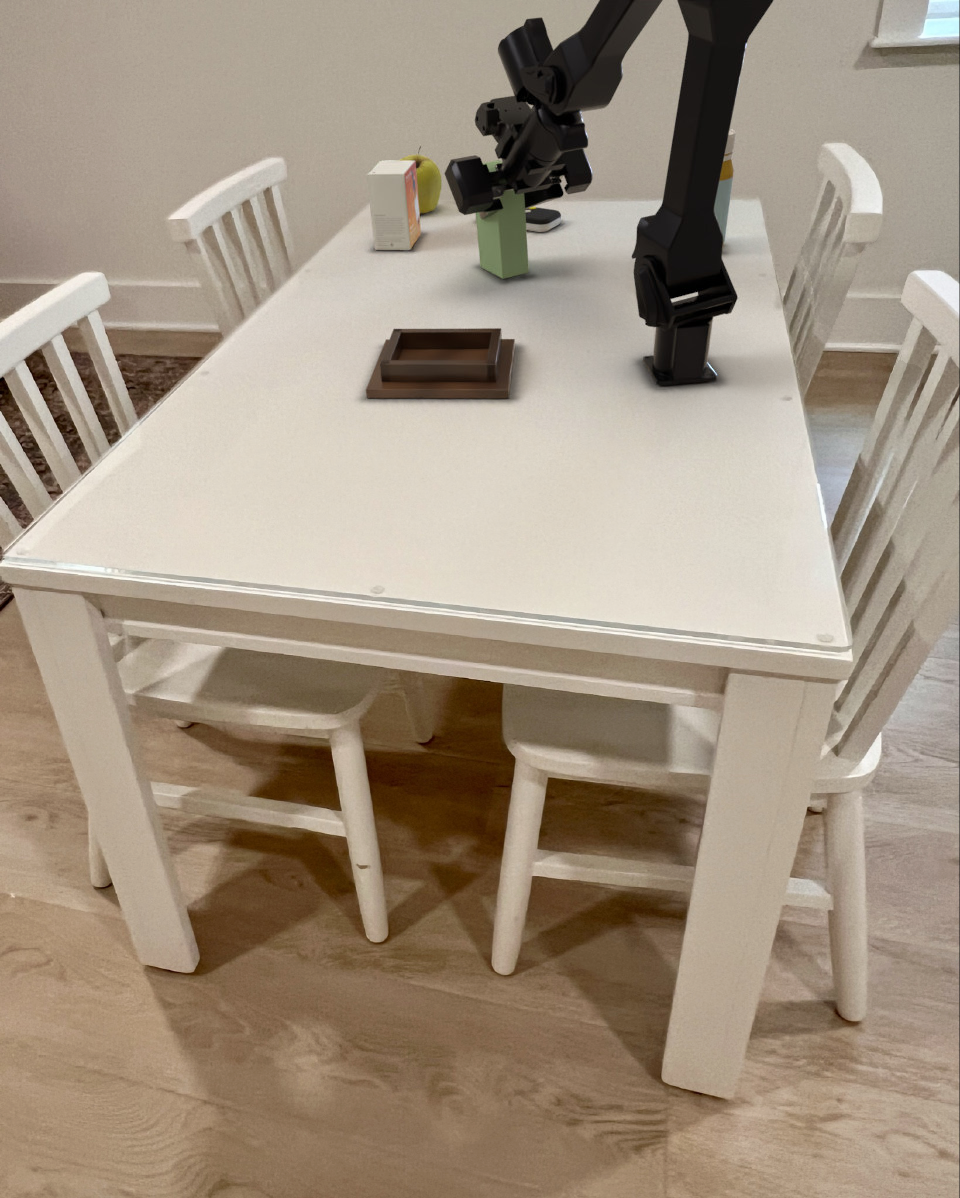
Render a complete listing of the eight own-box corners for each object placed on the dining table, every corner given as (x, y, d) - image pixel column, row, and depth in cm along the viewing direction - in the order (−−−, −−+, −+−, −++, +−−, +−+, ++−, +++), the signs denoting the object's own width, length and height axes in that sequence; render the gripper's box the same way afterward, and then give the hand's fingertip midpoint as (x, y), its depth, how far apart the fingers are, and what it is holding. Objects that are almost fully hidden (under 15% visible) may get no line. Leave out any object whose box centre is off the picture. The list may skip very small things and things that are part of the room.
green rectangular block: (505, 261, 125) (498, 160, 117) (529, 272, 120) (522, 167, 112) (480, 267, 124) (470, 165, 116) (502, 279, 118) (494, 173, 111)
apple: (398, 196, 149) (409, 134, 142) (441, 213, 148) (454, 152, 141) (379, 210, 143) (389, 146, 136) (424, 228, 142) (437, 165, 136)
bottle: (723, 257, 123) (739, 138, 113) (672, 256, 124) (683, 137, 114) (723, 241, 128) (738, 125, 118) (673, 240, 129) (684, 125, 120)
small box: (411, 251, 130) (404, 173, 123) (373, 250, 131) (365, 173, 124) (422, 234, 136) (416, 159, 129) (386, 233, 137) (379, 159, 130)
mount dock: (515, 346, 102) (514, 321, 100) (508, 398, 92) (508, 371, 90) (386, 347, 104) (383, 322, 102) (366, 398, 94) (363, 371, 92)
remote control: (545, 234, 134) (545, 220, 132) (473, 223, 139) (473, 209, 138) (564, 222, 138) (564, 209, 136) (494, 212, 143) (493, 199, 142)
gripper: (585, 66, 107) (536, 146, 122) (447, 85, 101) (413, 167, 115) (618, 151, 107) (565, 221, 122) (482, 176, 100) (443, 246, 115)
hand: (498, 212), depth 118 cm, fingers closed on green rectangular block, 5 cm apart
